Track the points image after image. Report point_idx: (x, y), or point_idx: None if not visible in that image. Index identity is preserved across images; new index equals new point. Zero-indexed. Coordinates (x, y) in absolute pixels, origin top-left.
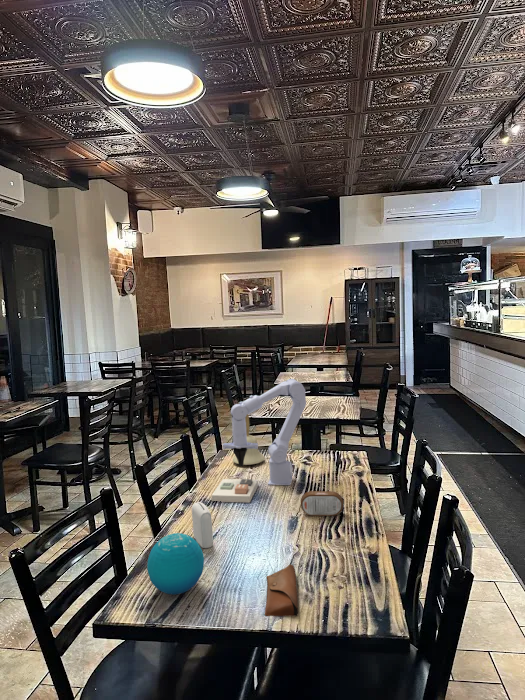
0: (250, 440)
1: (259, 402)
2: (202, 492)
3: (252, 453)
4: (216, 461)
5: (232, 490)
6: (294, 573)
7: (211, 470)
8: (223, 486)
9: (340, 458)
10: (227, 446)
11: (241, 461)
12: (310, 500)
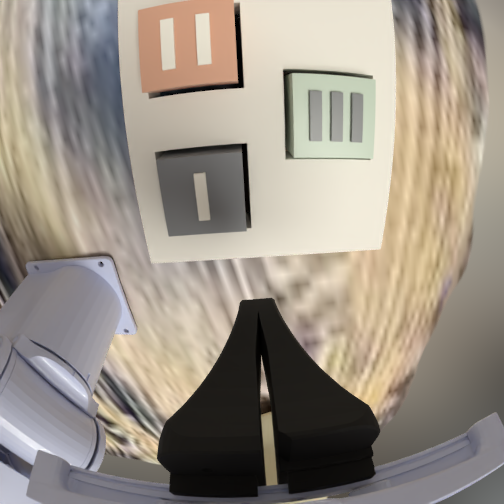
0: None
1: None
2: (450, 127)
3: (268, 453)
4: (393, 407)
5: (271, 54)
6: None
7: (415, 357)
8: (353, 81)
9: None
10: (469, 462)
11: (246, 331)
12: None
